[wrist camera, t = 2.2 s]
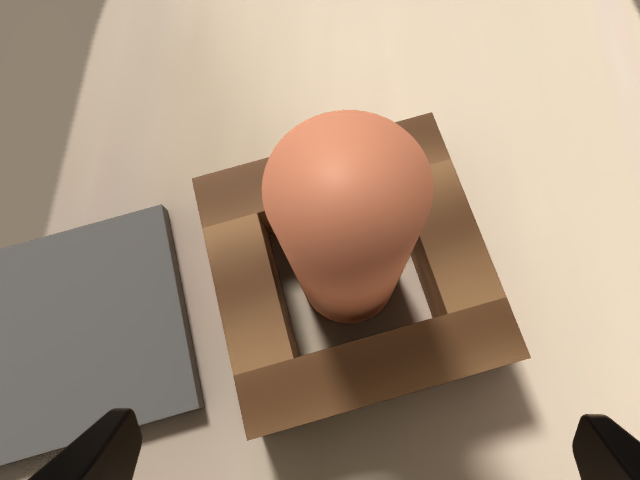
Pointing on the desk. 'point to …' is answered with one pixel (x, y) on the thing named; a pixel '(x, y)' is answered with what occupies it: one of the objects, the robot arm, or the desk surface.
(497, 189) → the desk surface
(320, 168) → the terracotta peg
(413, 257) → the walnut pocket block
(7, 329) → the rubber mat
